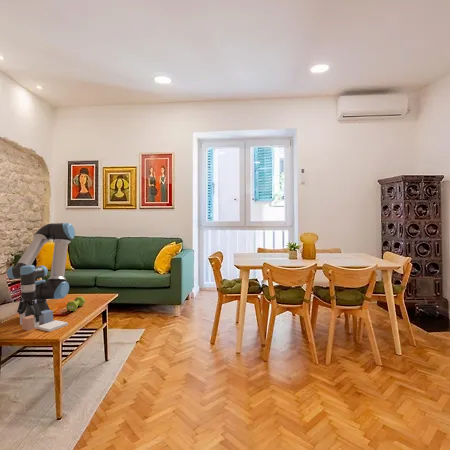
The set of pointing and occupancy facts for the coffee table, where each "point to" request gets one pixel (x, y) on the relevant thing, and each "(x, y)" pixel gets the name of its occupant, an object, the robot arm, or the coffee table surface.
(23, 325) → the terracotta block
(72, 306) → the dumbbell
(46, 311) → the slate block
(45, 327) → the baseboard
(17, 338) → the coffee table surface
